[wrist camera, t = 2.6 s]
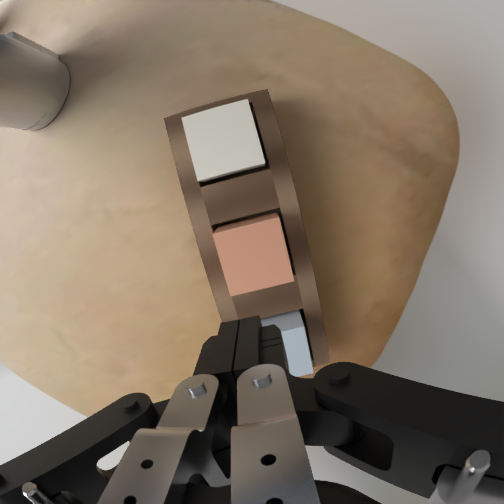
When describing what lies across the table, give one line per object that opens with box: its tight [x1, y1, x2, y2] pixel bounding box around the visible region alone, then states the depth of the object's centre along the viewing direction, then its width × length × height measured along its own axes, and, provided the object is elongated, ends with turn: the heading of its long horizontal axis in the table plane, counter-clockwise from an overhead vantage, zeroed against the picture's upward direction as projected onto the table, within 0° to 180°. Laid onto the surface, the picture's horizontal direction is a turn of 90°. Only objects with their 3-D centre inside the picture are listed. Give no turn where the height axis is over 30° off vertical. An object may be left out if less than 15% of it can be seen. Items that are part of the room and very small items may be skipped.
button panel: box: [164, 89, 330, 367], centre depth 26 cm, size 25×9×4 cm, turn 15°
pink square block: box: [212, 212, 294, 296], centre depth 24 cm, size 5×5×4 cm
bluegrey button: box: [261, 309, 314, 377], centre depth 26 cm, size 5×5×4 cm
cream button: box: [182, 99, 265, 181], centre depth 22 cm, size 5×5×4 cm
